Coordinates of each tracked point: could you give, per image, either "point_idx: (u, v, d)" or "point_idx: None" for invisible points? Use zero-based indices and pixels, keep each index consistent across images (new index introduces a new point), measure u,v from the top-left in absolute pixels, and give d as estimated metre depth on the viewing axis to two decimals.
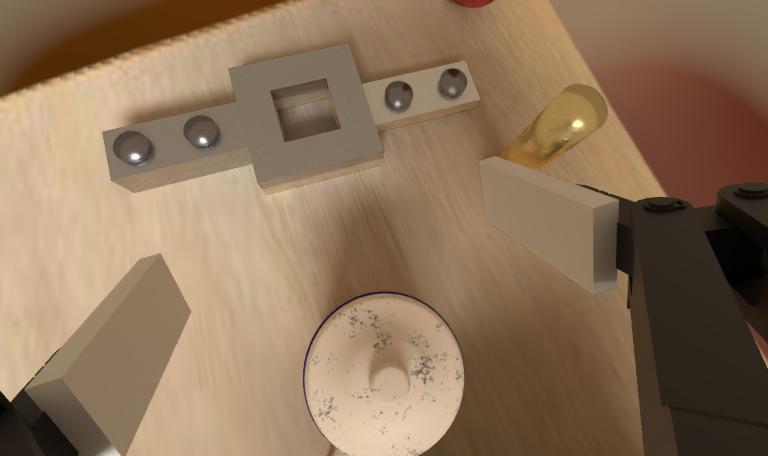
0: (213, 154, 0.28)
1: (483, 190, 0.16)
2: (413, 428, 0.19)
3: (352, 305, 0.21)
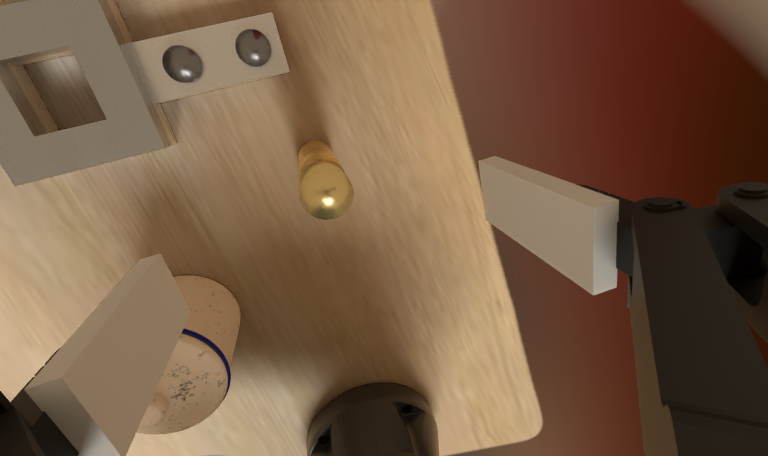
0: None
1: (483, 190, 0.16)
2: (182, 419, 0.27)
3: None
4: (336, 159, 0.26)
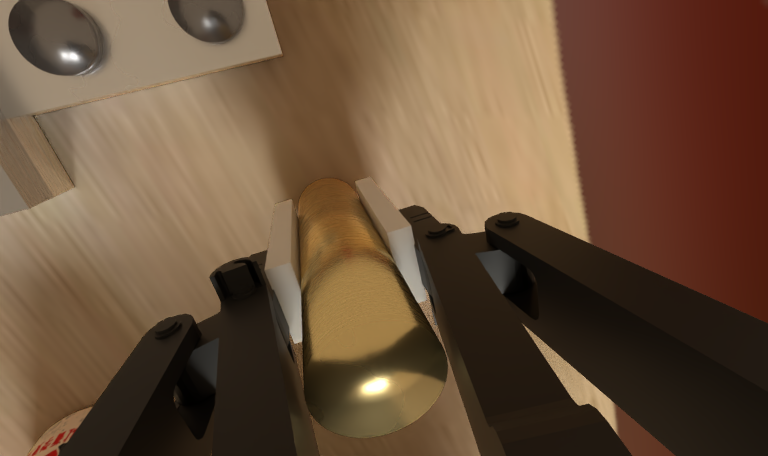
0: None
1: None
2: None
3: None
4: (377, 233, 0.13)
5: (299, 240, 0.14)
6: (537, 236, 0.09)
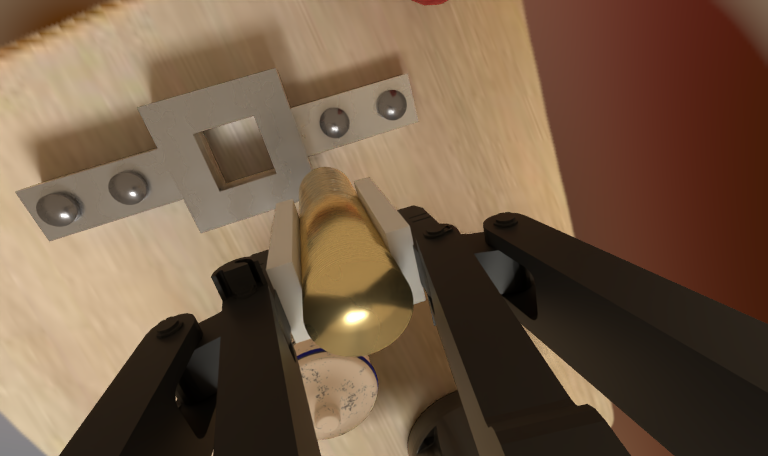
0: (148, 208, 0.29)
1: None
2: (343, 426, 0.31)
3: (299, 365, 0.29)
4: None
5: None
6: (536, 236, 0.09)
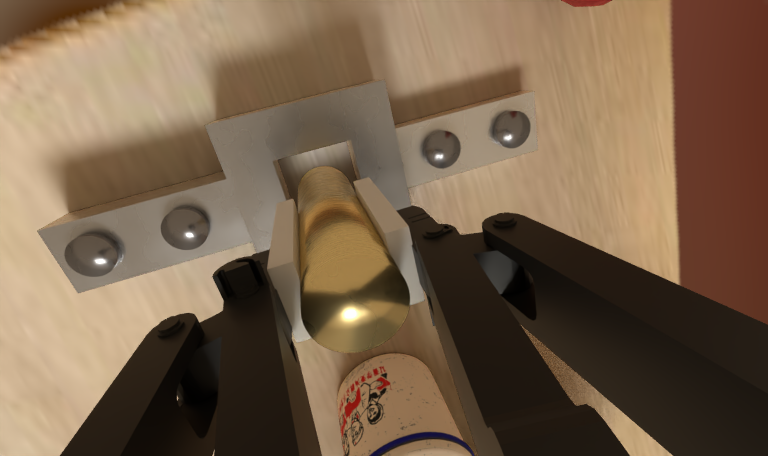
0: (207, 252, 0.22)
1: None
2: None
3: None
4: (363, 208, 0.15)
5: None
6: (534, 236, 0.09)
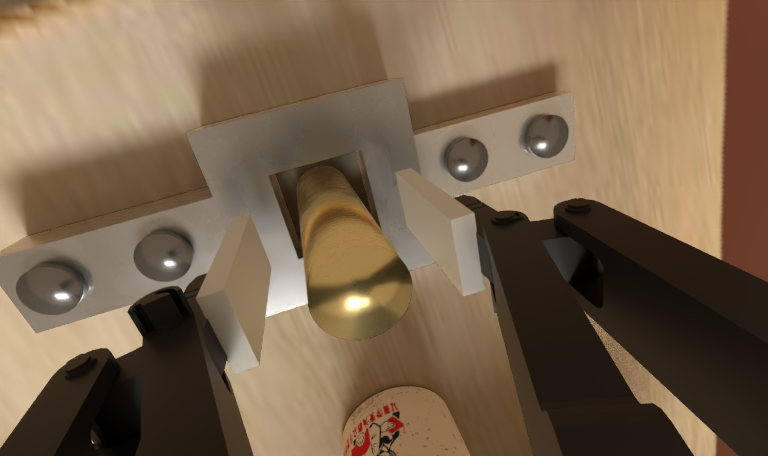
0: None
1: (401, 199, 0.17)
2: None
3: None
4: (363, 204, 0.16)
5: (299, 212, 0.17)
6: (609, 223, 0.09)
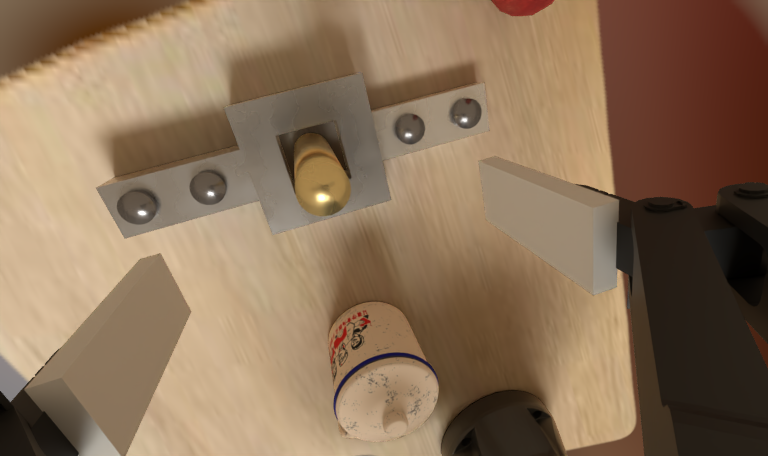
0: (224, 208, 0.28)
1: (483, 190, 0.16)
2: None
3: (369, 370, 0.29)
4: (333, 153, 0.25)
5: (294, 159, 0.27)
6: None
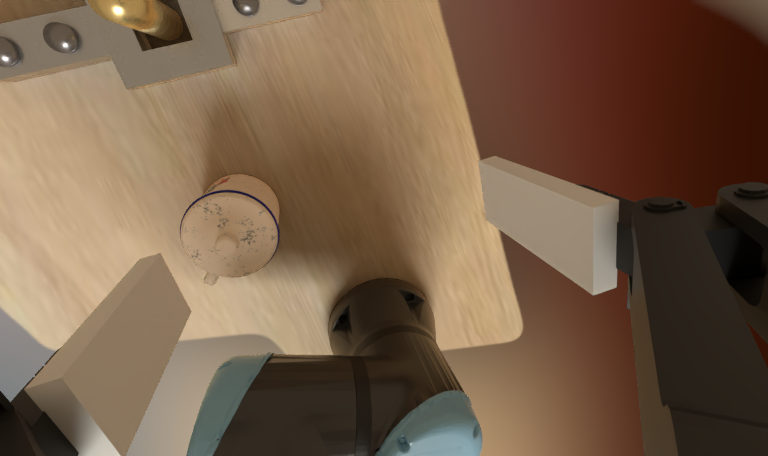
0: (79, 60, 0.34)
1: (483, 190, 0.16)
2: (245, 263, 0.37)
3: (205, 200, 0.34)
4: None
5: None
6: None
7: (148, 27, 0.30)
